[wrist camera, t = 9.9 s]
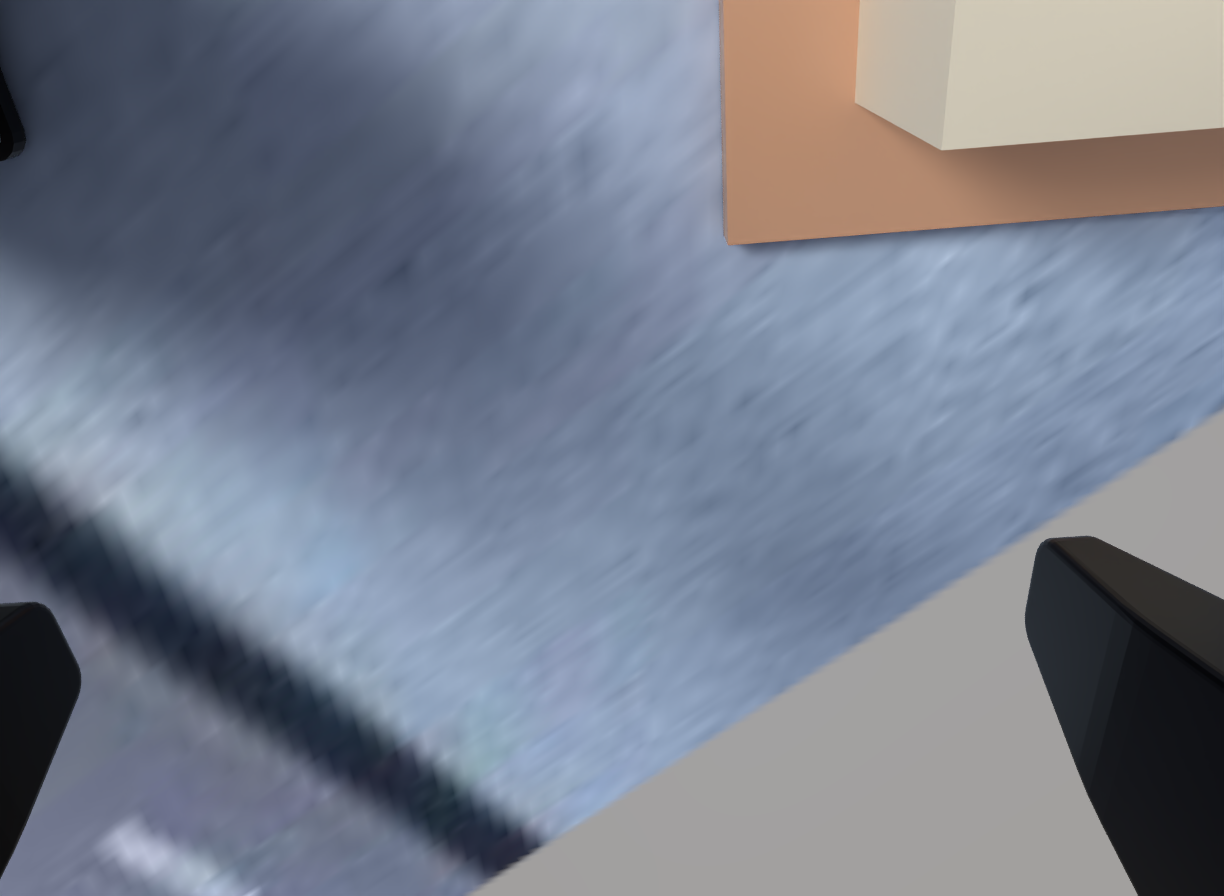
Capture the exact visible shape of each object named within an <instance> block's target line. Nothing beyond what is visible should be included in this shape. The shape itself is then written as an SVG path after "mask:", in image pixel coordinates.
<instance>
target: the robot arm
mask: <svg viewBox="0 0 1224 896" xmlns="http://www.w3.org/2000/svg"><path fill="white" fill-rule="evenodd" d="M0 138H1V142H0V161H3V160H6V159H9V158H12V157H15V156H19V155H20V153H21V152H22V151H23V150H24V148H25V144H26V136H25V131H24V128H23V126H22V123H21V120H20V118H19V115H18V113H17V110H16V107H15V105H14V102H13V100H12V97H11V94H10V92H9V89H8V87H7V84H6V81H5V79H4V76H3V73H2V71H1V68H0ZM1025 626H1026V632H1027V637H1028V640H1029V643H1030V645H1031V648H1032V651H1033V653H1034V656H1035V659H1036V661H1037V664H1038V667H1039V669H1040V672H1041V674H1042V677H1043V680H1044V683H1045V685H1046V688H1047V691H1048V693H1049V696H1050V699H1051V701H1052V704H1053V706H1054V709H1055V712H1056V714H1057V717H1058V720H1059V722H1060V725H1061V727H1062V730H1063V733H1064V736H1065V738H1066V741H1067V743H1068V746H1069V749H1070V752H1071V754H1072V757H1073V759H1074V762H1075V765H1076V767H1077V770H1078V772H1079V775H1080V777H1081V780H1082V782H1083V785H1084V787H1085V789H1086V792H1087V794H1088V797H1089V799H1090V801H1091V803H1092V805H1093V807H1094V809H1095V811H1096V813H1097V815H1098V818H1099V820H1100V822H1101V824H1102V825H1103V828H1104V830H1105V832H1106V834H1107V835H1108V837H1109V839H1110V841H1111V843H1112V845H1113V847H1114V849H1115V851H1116V853H1117V855H1118V857H1119V859H1120V861H1121V863H1122V865H1123V867H1124V869H1125V871H1126V873H1127V875H1128V877H1129V879H1130V881H1131V883H1132V884H1133V886H1134V888H1135V890H1136V892H1137V894H1138V896H1224V600H1223V599H1221V598H1219V597H1217V596H1215V595H1213V594H1211V593H1209V592H1207V591H1205V590H1203V589H1201V588H1199V587H1196V586H1195V585H1193V584H1190V583H1188V582H1186V581H1184V580H1182V579H1180V578H1178V577H1176V576H1174V575H1172V574H1170V573H1168V572H1166V571H1163V570H1162V569H1160V568H1158V567H1155V566H1153V565H1151V564H1149V563H1147V562H1145V561H1143V560H1141V559H1139V558H1137V557H1135V556H1133V555H1131V554H1129V553H1127V552H1125V551H1123V550H1121V549H1118V548H1116V547H1114V546H1112V545H1110V544H1108V543H1106V542H1104V541H1102V540H1100V539H1098V538H1095V537H1091V536H1078V537H1077V536H1076V537H1062V538H1049V539H1046V540H1045V541H1044V542H1042V543H1041V544H1040V546H1039V548H1038V549H1037V553H1036V556H1035V561H1034V567H1033V573H1032V578H1031V583H1030V589H1029V594H1028V600H1027V605H1026V612H1025ZM80 688H81V672H80V668H79V665H78V663H77V661H76V659H75V657H74V655H73V653H72V651H71V649H70V647H69V645H68V643H67V640H66V638H65V636H64V634H63V632H62V630H61V628H60V626H59V624H58V622H57V620H56V618H55V616H54V614H53V613H52V611H51V610H50V609H49V608H48V607H46V606H45V605H44V604H42V603H38V602H18V603H3V604H0V879H1V877H2V875H3V873H4V871H5V869H6V867H7V865H8V863H9V861H10V859H11V857H12V854H13V852H14V850H15V848H16V846H17V844H18V842H19V839H20V837H21V835H22V832H23V830H24V828H25V826H26V823H27V821H28V818H29V816H30V814H31V811H32V809H33V806H34V804H35V801H36V799H37V797H38V794H39V792H40V789H41V787H42V784H43V782H44V779H45V777H46V775H47V772H48V770H49V767H50V765H51V762H52V760H53V757H54V755H55V753H56V750H57V748H58V745H59V743H60V740H61V738H62V736H63V733H64V731H65V728H66V726H67V723H68V721H69V718H70V716H71V714H72V711H73V709H74V706H75V704H76V701H77V699H78V696H79V693H80Z"/></svg>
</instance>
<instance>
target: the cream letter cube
mask: <svg viewBox="0 0 1224 896" xmlns="http://www.w3.org/2000/svg"><path fill="white" fill-rule="evenodd" d="M855 103H857V104H858V105H860V106H862V107H864V108H866V109H867V110H869V111H871V112H873V113H875V114H876V115H878V116H880V117H882V118H884V119H885V120H887V121H889V122H891V123H893V124H894V125H896V126H898V127H900V128H902V129H904V130H905V131H907V132H909V133H911V134H913V135H914V136H916V137H918V138H920V139H922V140H923V141H925V142H927V143H929V144H931V145H932V146H934V147H936V148H938V149H940V150H941V151H942V150H954V149H966V148H978V147H991V146H1003V145H1015V144H1028V143H1040V142H1052V141H1064V140H1077V139H1089V138H1101V137H1113V136H1126V135H1138V134H1150V133H1162V132H1175V131H1187V130H1199V129H1211V128H1224V0H860V6H859V27H858V47H857V67H856V88H855Z"/></svg>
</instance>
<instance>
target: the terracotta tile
mask: <svg viewBox="0 0 1224 896" xmlns="http://www.w3.org/2000/svg"><path fill="white" fill-rule="evenodd" d="M859 6H860V0H719V37H720V85H721V133H722V180H723V228H724V237H725V240H726V242H727V245H739V244H751V243H764V242H777V241H789V240H802V239H815V238H827V237H840V236H853V235H865V234H878V233H891V232H903V231H916V230H929V229H941V228H954V227H967V226H979V225H992V224H1005V223H1017V222H1030V221H1043V220H1055V219H1068V218H1081V217H1093V216H1106V215H1119V214H1131V213H1144V212H1157V211H1169V210H1182V209H1195V208H1207V207H1220V206H1224V128H1211V129H1199V130H1187V131H1175V132H1162V133H1150V134H1138V135H1126V136H1113V137H1101V138H1089V139H1077V140H1064V141H1052V142H1040V143H1028V144H1015V145H1003V146H991V147H978V148H966V149H954V150H942V151H941V150H940V149H938V148H936V147H934V146H932V145H931V144H929V143H927V142H925V141H923V140H922V139H920V138H918V137H916V136H914V135H913V134H911V133H909V132H907V131H905V130H904V129H902V128H900V127H898V126H896V125H894V124H893V123H891V122H889V121H887V120H885V119H884V118H882V117H880V116H878V115H876V114H875V113H873V112H871V111H869V110H867V109H866V108H864V107H862V106H860V105H858V104H857V103H855V88H856V67H857V47H858V27H859Z"/></svg>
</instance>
